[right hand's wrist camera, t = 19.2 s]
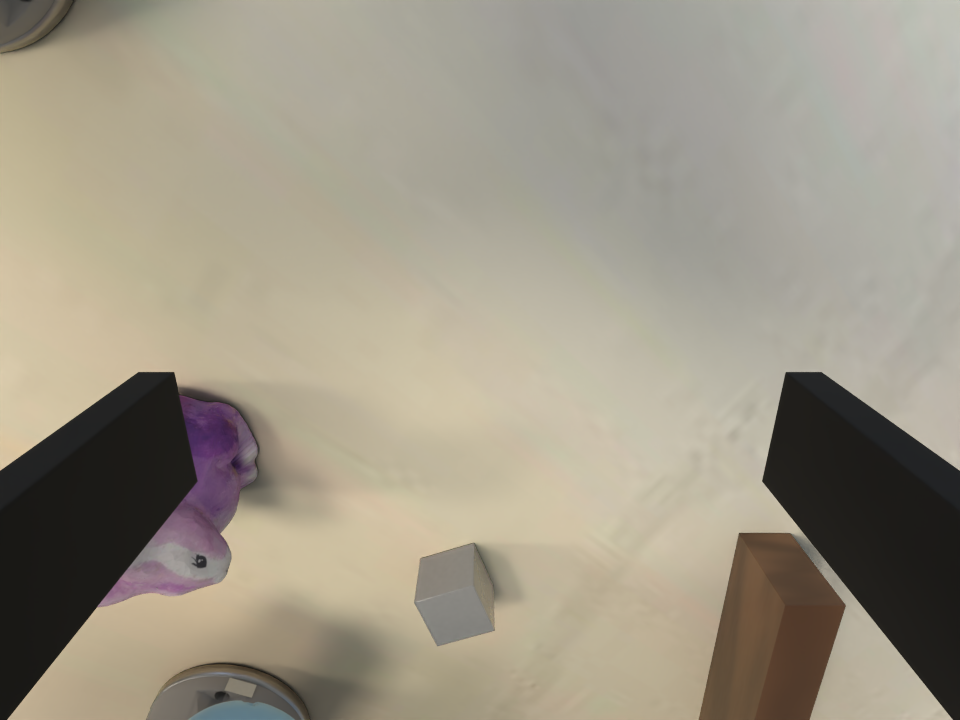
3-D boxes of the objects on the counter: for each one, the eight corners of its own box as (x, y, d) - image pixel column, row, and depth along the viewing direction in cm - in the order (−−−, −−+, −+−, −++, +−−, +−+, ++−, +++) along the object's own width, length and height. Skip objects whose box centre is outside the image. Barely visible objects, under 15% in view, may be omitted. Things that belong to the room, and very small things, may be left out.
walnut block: (694, 740, 59) (725, 829, 51) (738, 532, 49) (785, 605, 42) (737, 741, 59) (774, 829, 51) (790, 533, 49) (846, 605, 42)
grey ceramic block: (441, 600, 52) (437, 646, 47) (420, 558, 50) (413, 602, 45) (493, 585, 51) (494, 631, 46) (474, 542, 49) (473, 585, 45)
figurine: (273, 504, 48) (187, 660, 34) (146, 480, 47) (5, 630, 33) (285, 404, 44) (195, 531, 30) (149, 377, 43) (-8, 494, 29)
